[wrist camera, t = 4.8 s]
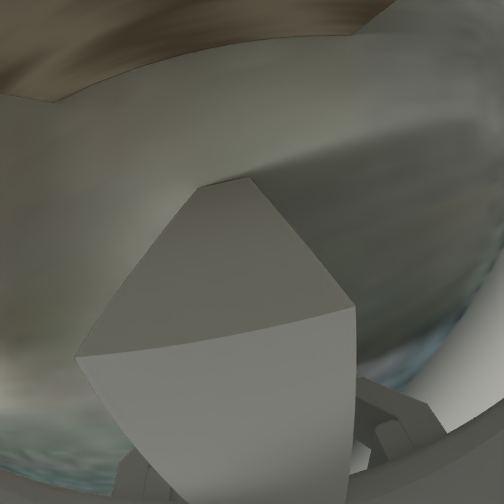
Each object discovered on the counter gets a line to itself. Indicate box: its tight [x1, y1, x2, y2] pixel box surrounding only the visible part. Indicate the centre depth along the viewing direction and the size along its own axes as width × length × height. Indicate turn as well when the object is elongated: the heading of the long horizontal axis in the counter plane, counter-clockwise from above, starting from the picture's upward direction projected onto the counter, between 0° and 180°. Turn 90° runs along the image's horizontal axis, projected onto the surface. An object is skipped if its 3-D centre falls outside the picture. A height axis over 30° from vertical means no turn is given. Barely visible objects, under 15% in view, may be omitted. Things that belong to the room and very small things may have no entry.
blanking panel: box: [74, 177, 356, 504], centre depth 8 cm, size 2×11×10 cm, turn 12°
